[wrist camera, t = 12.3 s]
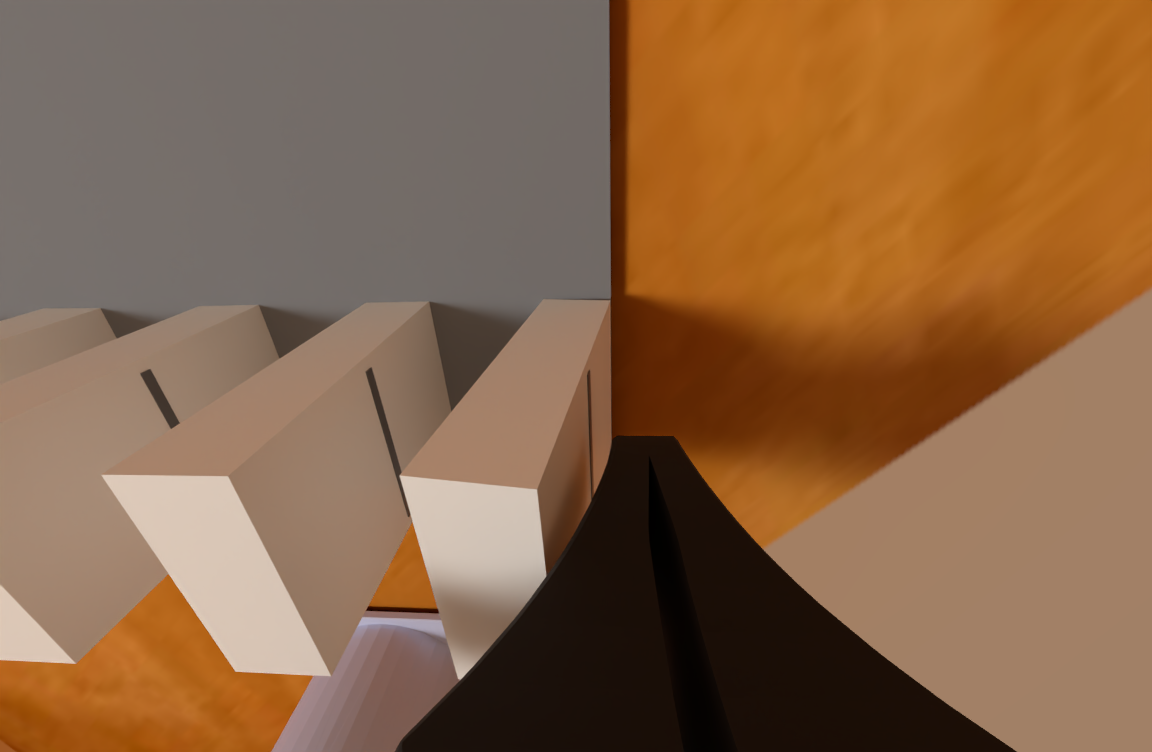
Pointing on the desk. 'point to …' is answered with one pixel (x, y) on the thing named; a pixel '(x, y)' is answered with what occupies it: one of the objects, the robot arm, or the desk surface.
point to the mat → (307, 162)
